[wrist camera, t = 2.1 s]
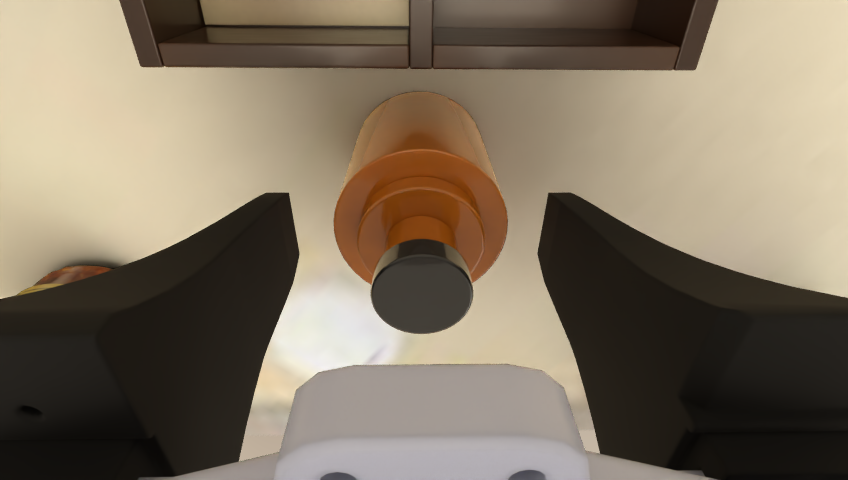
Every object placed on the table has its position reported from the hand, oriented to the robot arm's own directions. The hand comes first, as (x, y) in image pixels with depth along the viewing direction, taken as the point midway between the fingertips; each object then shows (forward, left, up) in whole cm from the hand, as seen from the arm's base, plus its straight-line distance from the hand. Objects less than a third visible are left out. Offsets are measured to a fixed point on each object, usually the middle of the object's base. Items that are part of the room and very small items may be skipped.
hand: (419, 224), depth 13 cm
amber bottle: (0, 0, -5) cm, 5 cm away
